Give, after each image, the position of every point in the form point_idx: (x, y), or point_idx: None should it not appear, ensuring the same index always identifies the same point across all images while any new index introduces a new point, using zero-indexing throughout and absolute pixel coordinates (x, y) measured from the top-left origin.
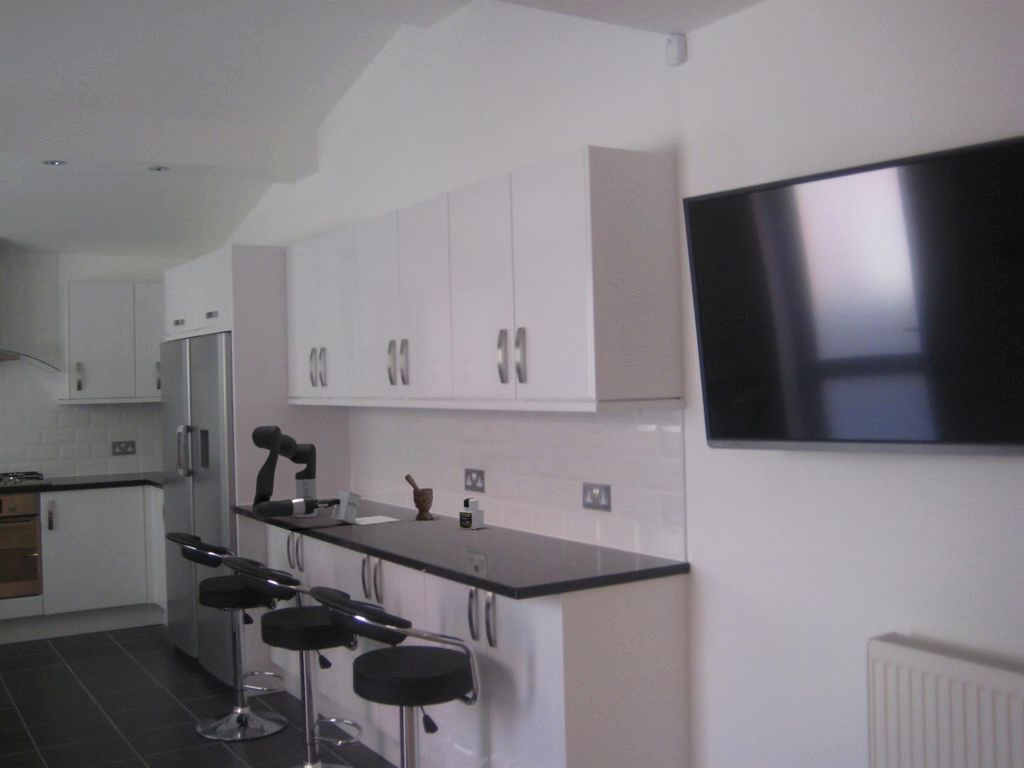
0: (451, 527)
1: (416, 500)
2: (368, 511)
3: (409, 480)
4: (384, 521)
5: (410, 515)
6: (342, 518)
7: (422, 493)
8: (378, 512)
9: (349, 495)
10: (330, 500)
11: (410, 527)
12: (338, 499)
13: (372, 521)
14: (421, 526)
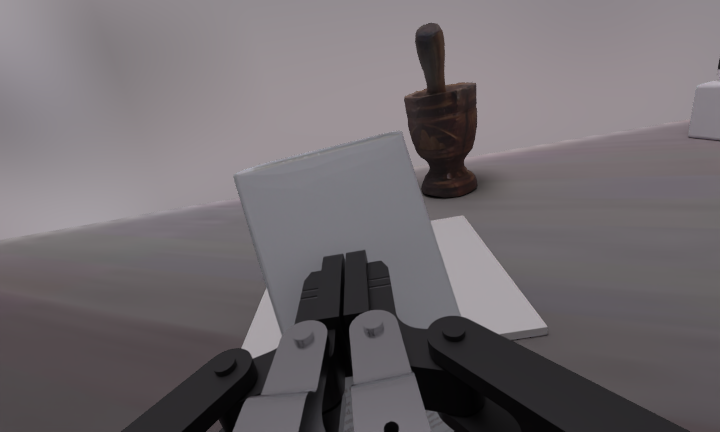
0: (710, 153)
1: (461, 128)
2: (116, 264)
3: (443, 49)
4: (474, 248)
5: None
6: None
7: (475, 96)
8: (176, 248)
9: (413, 171)
10: (465, 336)
11: (693, 207)
12: (365, 257)
13: None
14: (661, 190)
